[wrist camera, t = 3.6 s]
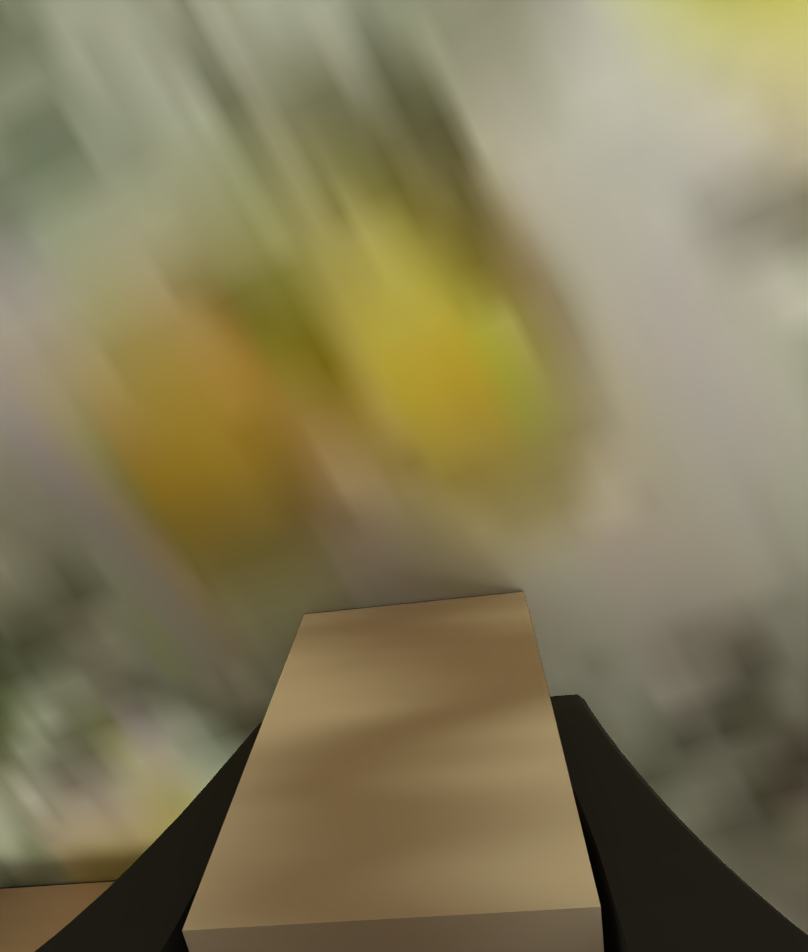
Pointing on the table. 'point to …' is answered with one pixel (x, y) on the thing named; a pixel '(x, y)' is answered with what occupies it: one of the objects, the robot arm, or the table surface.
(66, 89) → the table surface
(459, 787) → the block
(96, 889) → the plank
